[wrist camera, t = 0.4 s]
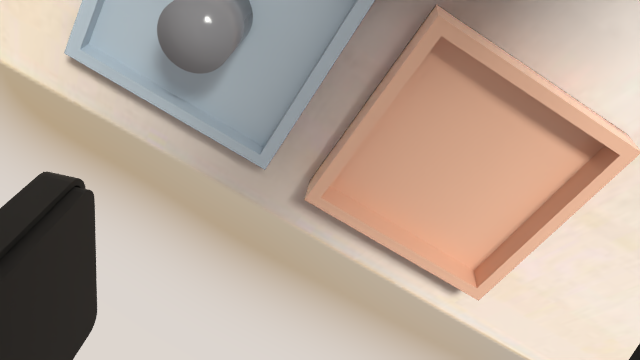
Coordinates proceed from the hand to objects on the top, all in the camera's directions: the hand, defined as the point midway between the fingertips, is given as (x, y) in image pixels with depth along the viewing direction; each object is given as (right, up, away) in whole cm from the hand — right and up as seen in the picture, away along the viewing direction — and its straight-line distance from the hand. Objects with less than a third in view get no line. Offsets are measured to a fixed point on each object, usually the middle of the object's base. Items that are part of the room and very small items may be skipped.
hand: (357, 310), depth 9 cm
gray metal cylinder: (-8, +15, +32) cm, 36 cm away
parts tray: (-8, +15, +32) cm, 37 cm away
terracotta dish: (+11, +4, +36) cm, 38 cm away
